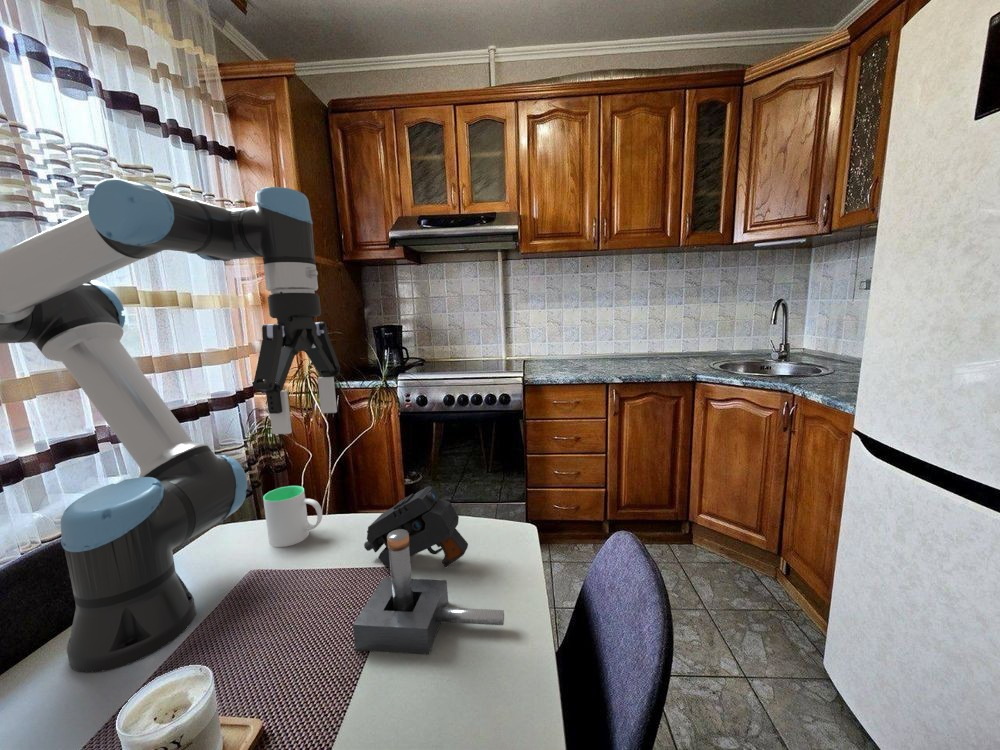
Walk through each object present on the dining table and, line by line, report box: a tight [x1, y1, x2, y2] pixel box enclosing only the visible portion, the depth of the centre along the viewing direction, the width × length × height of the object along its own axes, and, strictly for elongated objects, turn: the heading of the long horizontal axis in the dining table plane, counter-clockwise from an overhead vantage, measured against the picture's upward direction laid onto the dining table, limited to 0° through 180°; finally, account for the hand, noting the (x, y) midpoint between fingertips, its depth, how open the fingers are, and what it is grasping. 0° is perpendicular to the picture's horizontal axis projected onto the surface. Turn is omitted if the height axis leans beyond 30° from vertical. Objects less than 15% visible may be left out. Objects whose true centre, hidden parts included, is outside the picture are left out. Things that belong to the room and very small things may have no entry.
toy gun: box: [363, 485, 469, 569], centre depth 83 cm, size 6×19×15 cm, turn 78°
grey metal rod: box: [387, 529, 414, 612], centre depth 65 cm, size 3×3×15 cm
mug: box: [262, 485, 323, 548], centre depth 94 cm, size 12×8×10 cm
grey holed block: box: [352, 577, 505, 656], centre depth 65 cm, size 21×11×4 cm, turn 83°
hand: (307, 422), depth 71 cm, fingers open, 13 cm apart
